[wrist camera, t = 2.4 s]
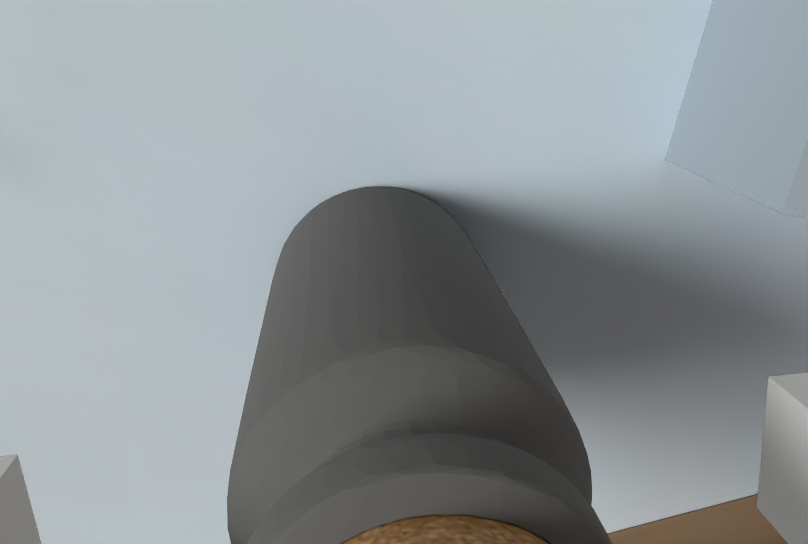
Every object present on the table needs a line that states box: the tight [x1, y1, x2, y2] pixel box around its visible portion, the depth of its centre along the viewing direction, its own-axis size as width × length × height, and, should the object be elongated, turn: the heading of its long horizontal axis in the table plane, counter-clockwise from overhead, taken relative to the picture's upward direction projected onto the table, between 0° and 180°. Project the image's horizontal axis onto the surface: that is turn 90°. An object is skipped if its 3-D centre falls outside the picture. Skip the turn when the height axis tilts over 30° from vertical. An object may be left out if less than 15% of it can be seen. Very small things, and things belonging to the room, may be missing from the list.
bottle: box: [227, 187, 612, 544], centre depth 15 cm, size 6×6×15 cm
